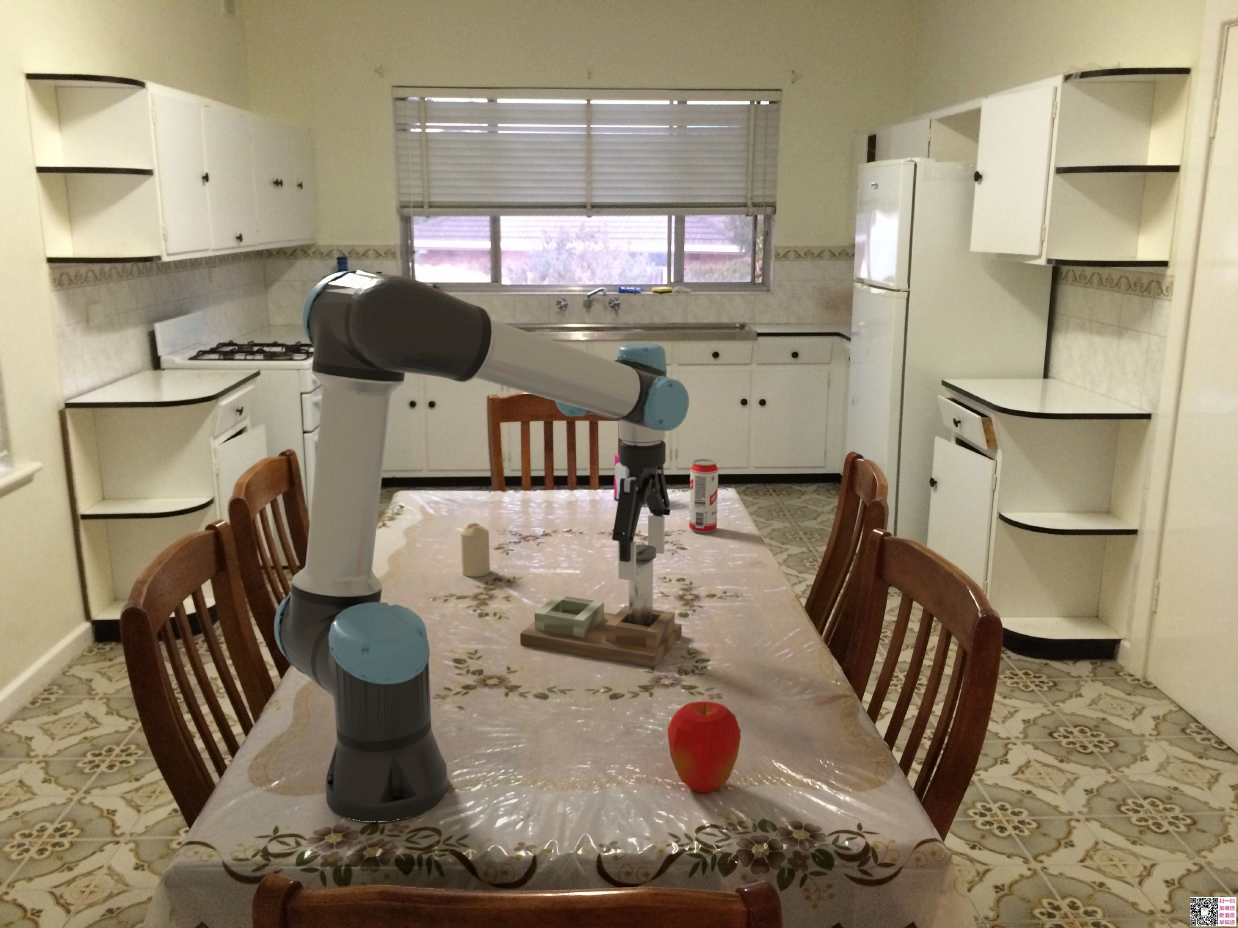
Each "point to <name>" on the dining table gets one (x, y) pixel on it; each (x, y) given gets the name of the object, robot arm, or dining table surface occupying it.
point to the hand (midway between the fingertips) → (642, 565)
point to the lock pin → (642, 587)
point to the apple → (704, 744)
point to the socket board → (601, 632)
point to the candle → (475, 550)
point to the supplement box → (619, 476)
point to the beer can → (703, 496)
